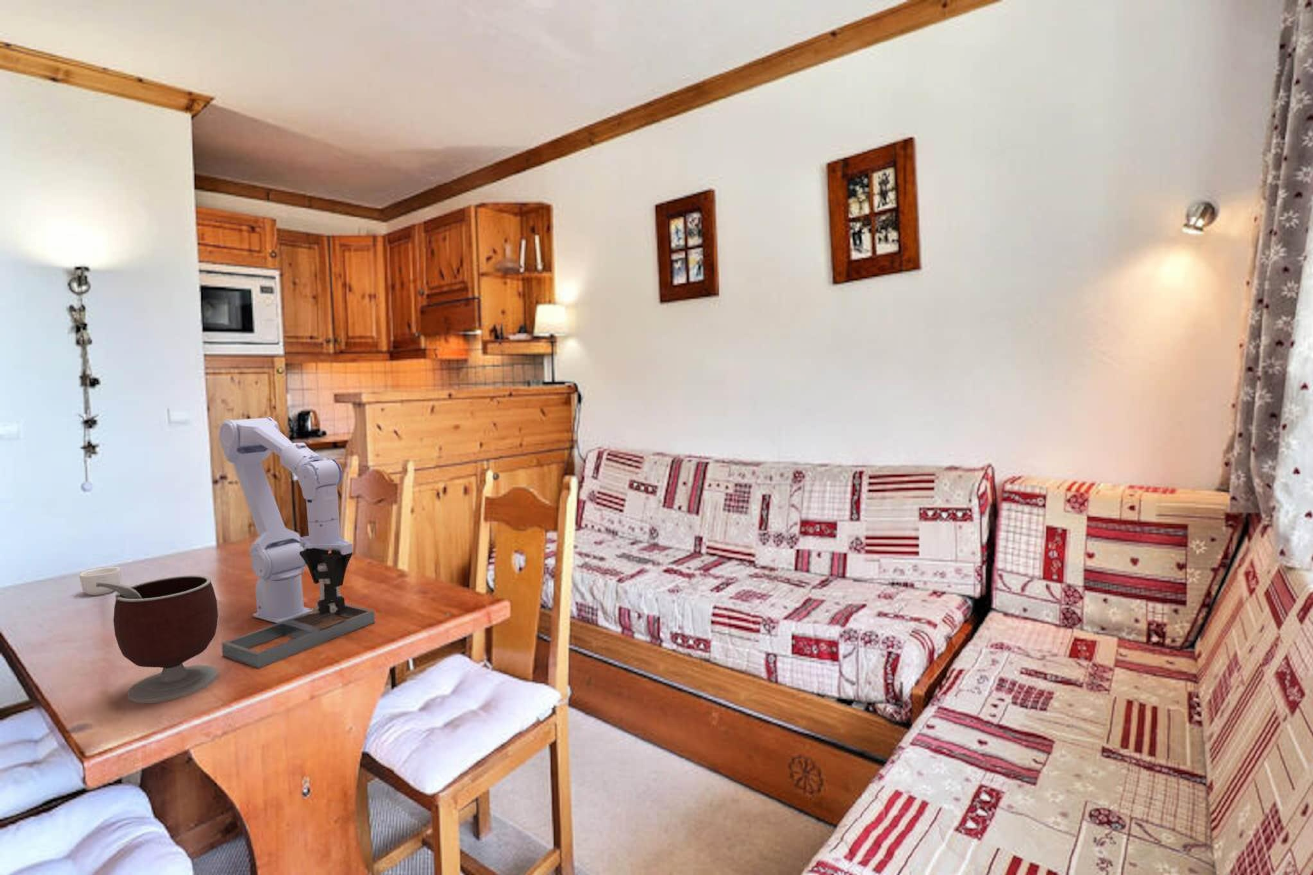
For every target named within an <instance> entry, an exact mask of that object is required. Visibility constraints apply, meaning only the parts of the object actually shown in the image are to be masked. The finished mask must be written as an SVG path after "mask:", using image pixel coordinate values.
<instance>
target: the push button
mask: <svg viewBox="0 0 1313 875" xmlns="http://www.w3.org/2000/svg"><path fill="white" fill-rule="evenodd" d="M313 573H315V575H316V579H319V583H318V585H319V594H320V595H319V597H318V600H317V602H316V603H317V606H314V607H312V608H310V609H309V610H313V611H314V610H315V611H316V609H317V610H318V611H316V612H313V611H312V612H313V613H310V614H315V613H319V614H320V615H324V614H328V613H333V612H336V611H343V610H345V604H346V602H345V598H344V597H343V596H342V592H340V586H338V587H335V588H332V587H331V584H330V579H329V573H328V569H327V566H326V564H325V563H321V564H318V568H317V569H314V570H313ZM323 580H324V582H323Z"/></svg>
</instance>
